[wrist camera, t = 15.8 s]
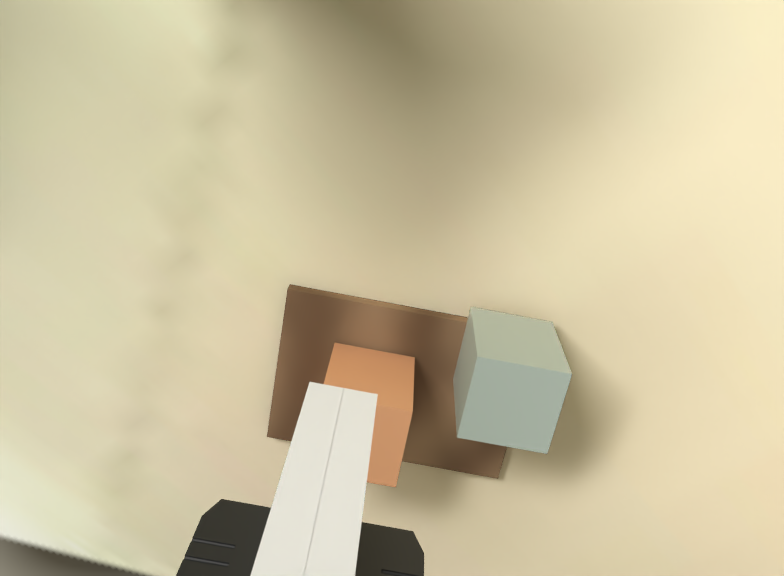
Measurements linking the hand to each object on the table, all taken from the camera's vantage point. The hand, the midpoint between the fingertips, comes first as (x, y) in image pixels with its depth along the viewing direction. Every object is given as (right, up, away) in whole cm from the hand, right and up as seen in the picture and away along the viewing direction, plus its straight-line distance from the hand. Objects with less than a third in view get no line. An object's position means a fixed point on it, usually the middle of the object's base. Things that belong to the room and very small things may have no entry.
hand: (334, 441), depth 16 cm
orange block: (0, -3, +32) cm, 32 cm away
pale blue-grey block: (+8, 0, +31) cm, 32 cm away
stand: (+2, -3, +33) cm, 33 cm away
